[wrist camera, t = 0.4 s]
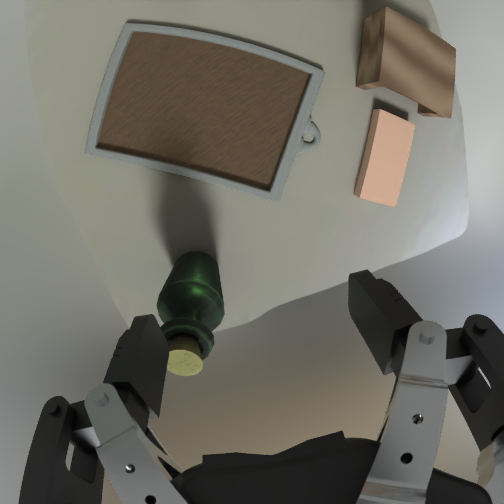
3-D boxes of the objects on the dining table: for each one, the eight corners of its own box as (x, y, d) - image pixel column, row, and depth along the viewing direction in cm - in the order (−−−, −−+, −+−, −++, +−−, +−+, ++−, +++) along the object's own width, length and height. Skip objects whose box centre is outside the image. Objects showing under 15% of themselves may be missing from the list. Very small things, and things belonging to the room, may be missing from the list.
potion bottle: (193, 302, 42) (181, 396, 26) (158, 265, 39) (124, 353, 23) (235, 275, 41) (243, 369, 24) (201, 234, 37) (185, 317, 21)
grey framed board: (124, 22, 22) (343, 79, 29) (128, 25, 24) (339, 81, 30) (83, 154, 30) (296, 209, 36) (89, 152, 31) (293, 206, 38)
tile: (371, 109, 32) (380, 108, 30) (406, 124, 33) (415, 125, 31) (352, 193, 37) (359, 197, 35) (387, 202, 38) (395, 207, 36)
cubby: (364, 19, 25) (385, 6, 19) (430, 53, 27) (455, 48, 21) (355, 86, 30) (379, 81, 24) (424, 116, 32) (451, 118, 26)
